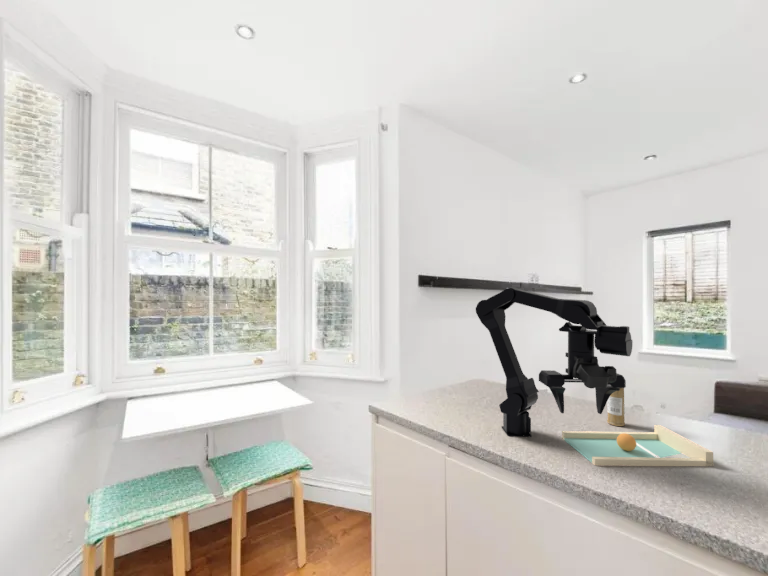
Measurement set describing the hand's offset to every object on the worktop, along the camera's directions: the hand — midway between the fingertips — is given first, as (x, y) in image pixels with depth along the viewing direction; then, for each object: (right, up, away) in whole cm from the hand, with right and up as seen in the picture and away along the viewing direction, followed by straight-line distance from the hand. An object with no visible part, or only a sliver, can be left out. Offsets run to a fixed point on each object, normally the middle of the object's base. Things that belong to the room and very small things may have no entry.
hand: (580, 413), depth 88 cm
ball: (+11, -7, 0) cm, 13 cm away
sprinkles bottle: (+21, -10, +18) cm, 29 cm away
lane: (+12, -10, -1) cm, 15 cm away
